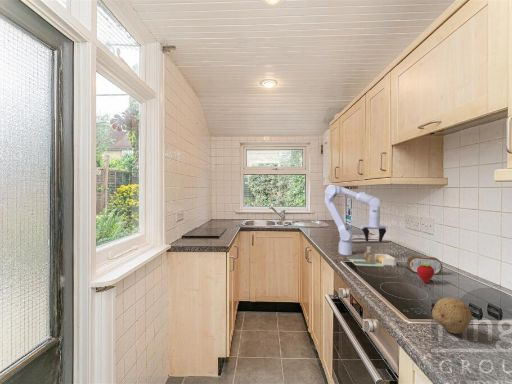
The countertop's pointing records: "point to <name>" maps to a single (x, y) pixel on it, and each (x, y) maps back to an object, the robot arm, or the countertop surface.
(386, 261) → the pitch
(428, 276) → the strawberry
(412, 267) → the tin
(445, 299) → the brown lumpy oval
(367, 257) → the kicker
